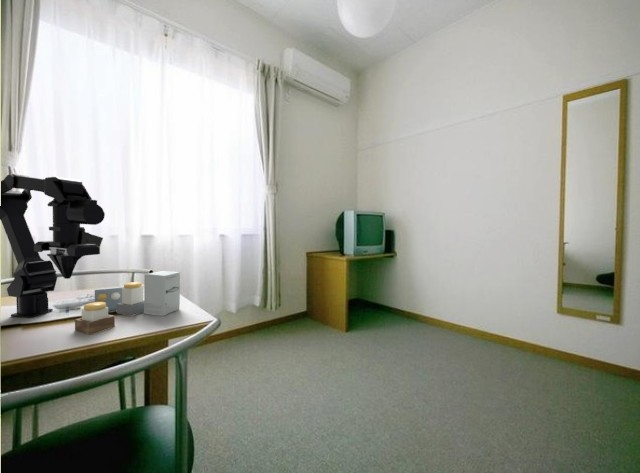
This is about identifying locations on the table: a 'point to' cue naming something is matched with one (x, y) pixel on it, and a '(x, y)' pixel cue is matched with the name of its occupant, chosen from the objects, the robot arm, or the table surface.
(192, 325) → the table surface
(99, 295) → the pattern card
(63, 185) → the robot arm
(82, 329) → the walnut collar
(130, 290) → the yellow topped white block
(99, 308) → the lidded white jar
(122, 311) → the grey collar
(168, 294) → the supplement box
